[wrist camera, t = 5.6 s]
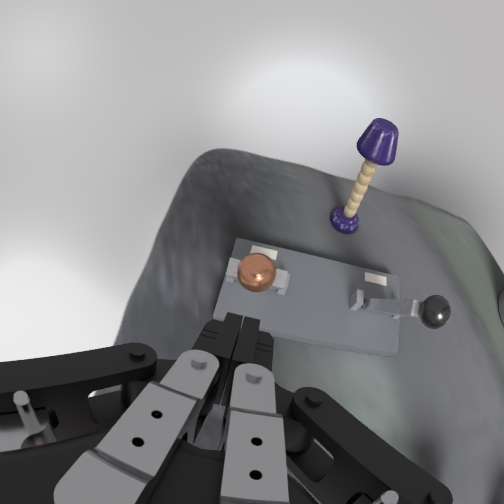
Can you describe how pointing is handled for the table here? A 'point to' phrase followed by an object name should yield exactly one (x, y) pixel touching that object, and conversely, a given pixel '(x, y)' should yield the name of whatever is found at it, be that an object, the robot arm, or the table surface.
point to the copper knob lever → (256, 273)
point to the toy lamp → (367, 169)
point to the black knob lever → (413, 309)
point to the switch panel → (316, 302)
